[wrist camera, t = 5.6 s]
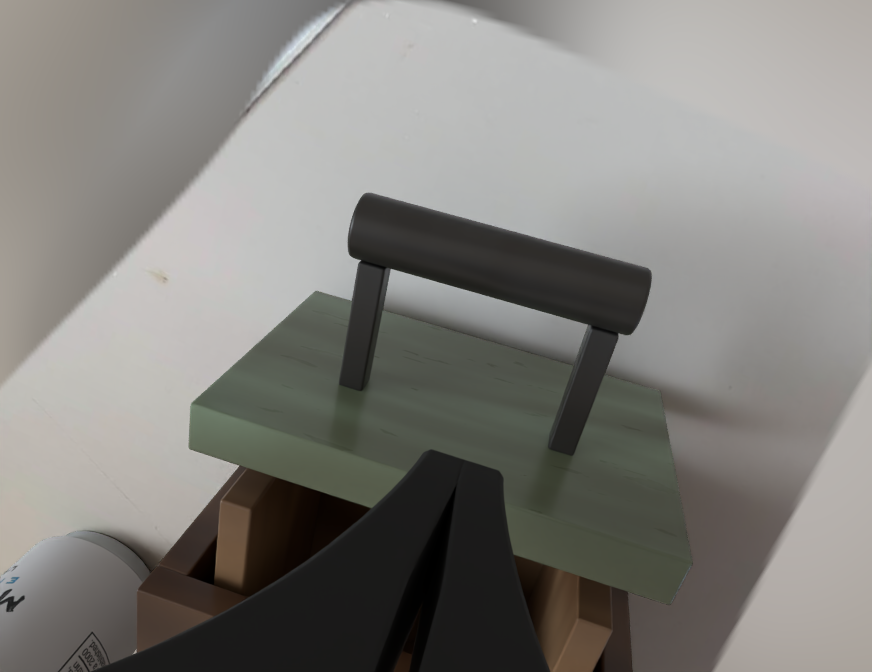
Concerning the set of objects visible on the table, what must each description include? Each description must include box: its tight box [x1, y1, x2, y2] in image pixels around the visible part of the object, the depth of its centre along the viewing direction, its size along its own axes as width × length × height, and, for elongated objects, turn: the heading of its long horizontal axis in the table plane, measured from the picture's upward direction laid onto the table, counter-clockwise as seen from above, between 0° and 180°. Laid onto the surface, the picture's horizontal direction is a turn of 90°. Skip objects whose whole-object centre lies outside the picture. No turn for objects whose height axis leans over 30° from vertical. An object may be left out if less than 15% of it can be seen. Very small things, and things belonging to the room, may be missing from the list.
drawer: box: [189, 193, 693, 672], centre depth 18 cm, size 17×10×7 cm, turn 168°
